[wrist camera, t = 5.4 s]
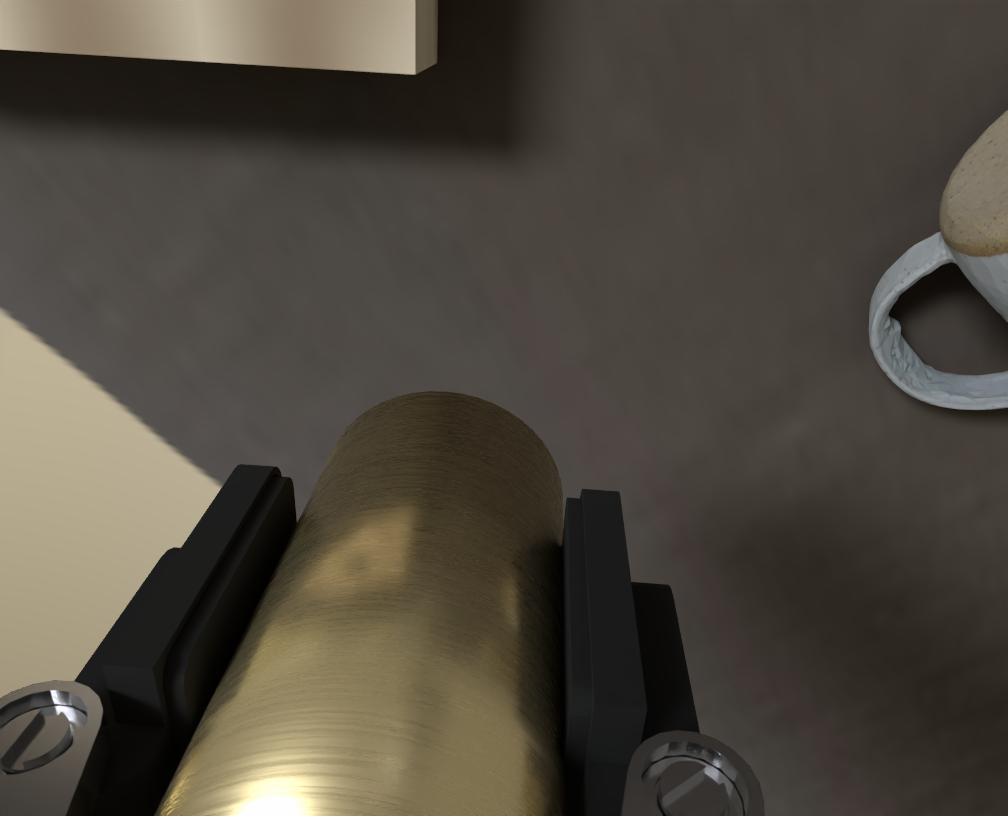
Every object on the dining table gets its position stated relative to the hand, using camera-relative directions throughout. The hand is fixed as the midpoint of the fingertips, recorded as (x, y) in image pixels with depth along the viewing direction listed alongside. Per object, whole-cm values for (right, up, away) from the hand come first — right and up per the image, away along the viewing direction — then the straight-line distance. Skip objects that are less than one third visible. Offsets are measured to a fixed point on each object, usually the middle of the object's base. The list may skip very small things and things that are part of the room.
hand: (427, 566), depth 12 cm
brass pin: (0, +1, +2) cm, 2 cm away
